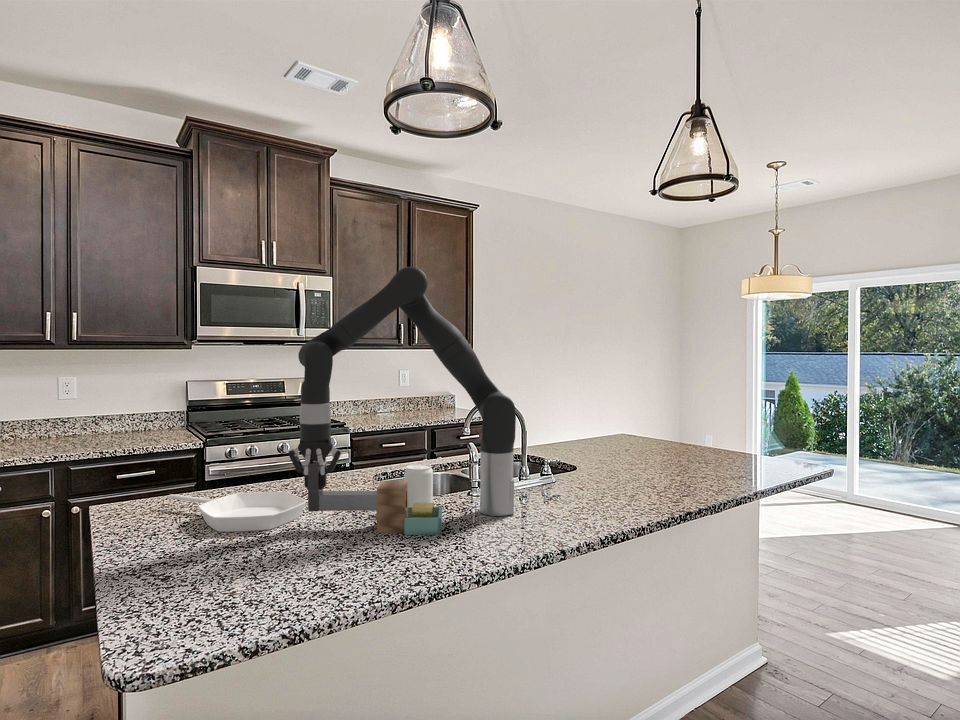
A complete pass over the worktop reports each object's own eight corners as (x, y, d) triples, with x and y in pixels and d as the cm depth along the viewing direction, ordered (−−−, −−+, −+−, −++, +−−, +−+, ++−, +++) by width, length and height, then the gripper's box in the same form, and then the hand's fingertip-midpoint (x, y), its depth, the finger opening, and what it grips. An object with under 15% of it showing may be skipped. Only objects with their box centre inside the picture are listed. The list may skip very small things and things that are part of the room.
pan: (254, 541, 142) (254, 522, 142) (127, 522, 156) (126, 505, 156) (323, 511, 168) (323, 495, 168) (208, 497, 182) (208, 482, 182)
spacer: (414, 521, 155) (433, 521, 155) (412, 527, 150) (431, 527, 150) (414, 502, 155) (433, 502, 155) (412, 507, 150) (431, 508, 150)
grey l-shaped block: (395, 505, 155) (396, 459, 155) (393, 511, 150) (394, 463, 150) (312, 506, 154) (312, 459, 154) (308, 511, 149) (308, 463, 149)
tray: (442, 521, 159) (442, 506, 158) (441, 534, 148) (441, 518, 147) (408, 521, 158) (408, 506, 158) (404, 534, 147) (404, 518, 147)
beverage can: (428, 513, 166) (428, 470, 166) (400, 511, 168) (400, 468, 167) (436, 505, 174) (436, 464, 174) (409, 503, 176) (409, 463, 175)
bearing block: (407, 523, 157) (407, 481, 156) (405, 532, 149) (405, 488, 148) (380, 523, 156) (380, 481, 156) (376, 532, 148) (376, 488, 148)
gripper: (346, 419, 155) (345, 485, 156) (291, 418, 154) (291, 485, 155) (340, 423, 148) (340, 492, 148) (283, 422, 147) (283, 492, 147)
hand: (315, 488), depth 152 cm, fingers closed on grey l-shaped block, 2 cm apart
